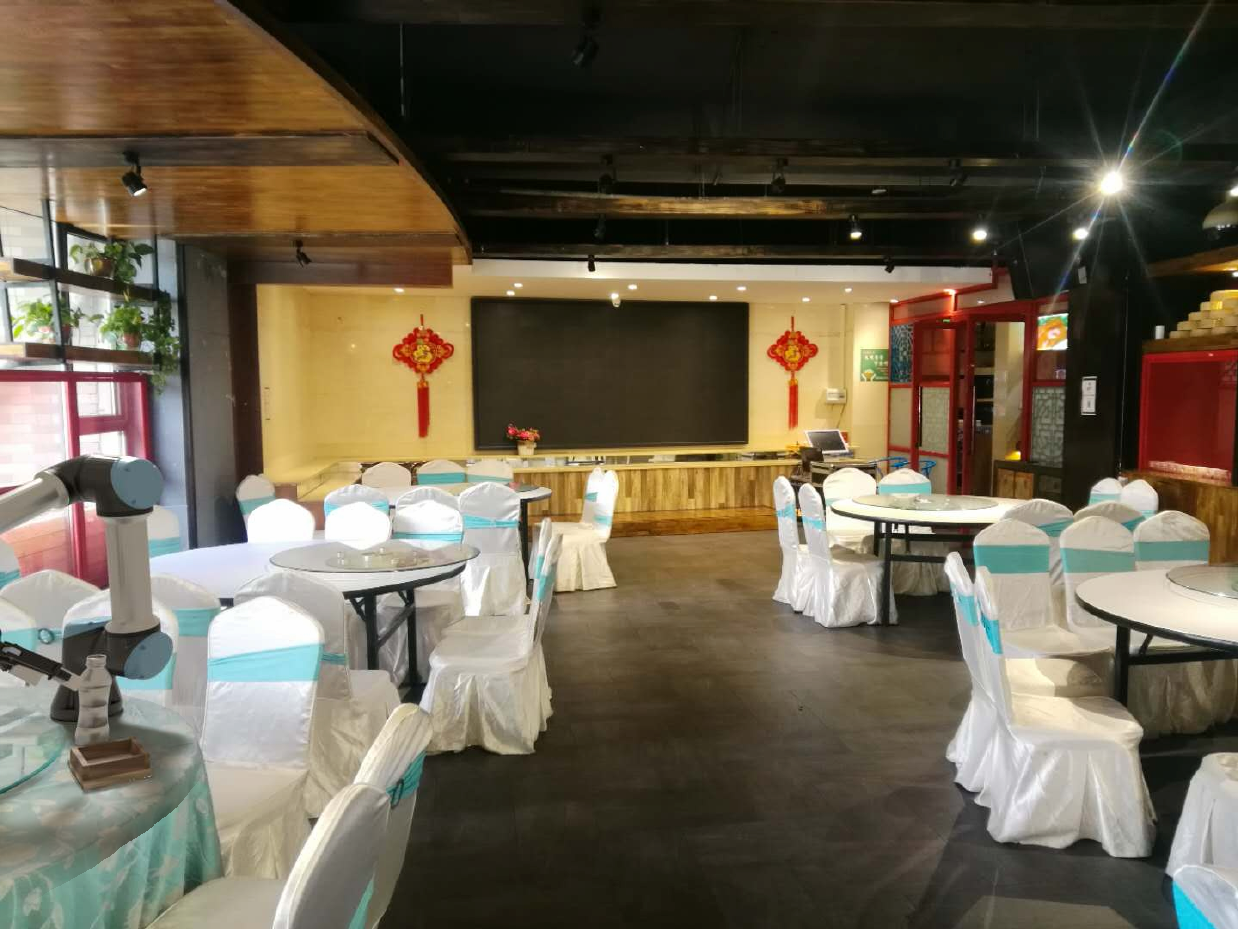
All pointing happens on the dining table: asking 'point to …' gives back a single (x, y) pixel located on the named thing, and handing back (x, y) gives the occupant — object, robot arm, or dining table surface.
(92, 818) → the dining table surface
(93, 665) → the plastic bottle
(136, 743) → the open wooden box
